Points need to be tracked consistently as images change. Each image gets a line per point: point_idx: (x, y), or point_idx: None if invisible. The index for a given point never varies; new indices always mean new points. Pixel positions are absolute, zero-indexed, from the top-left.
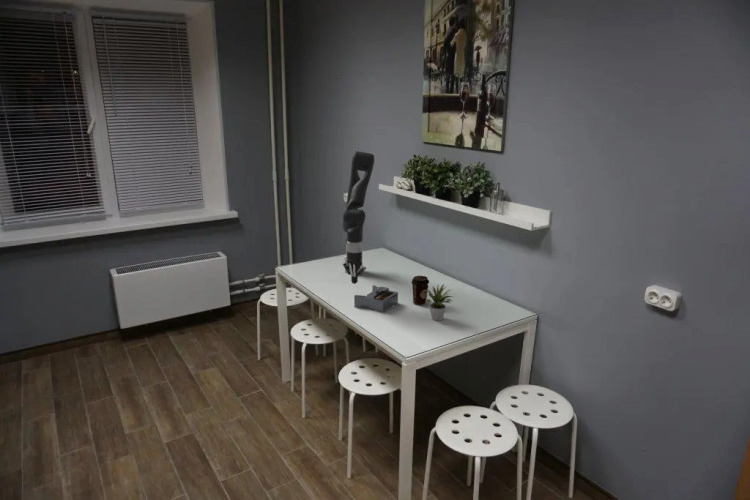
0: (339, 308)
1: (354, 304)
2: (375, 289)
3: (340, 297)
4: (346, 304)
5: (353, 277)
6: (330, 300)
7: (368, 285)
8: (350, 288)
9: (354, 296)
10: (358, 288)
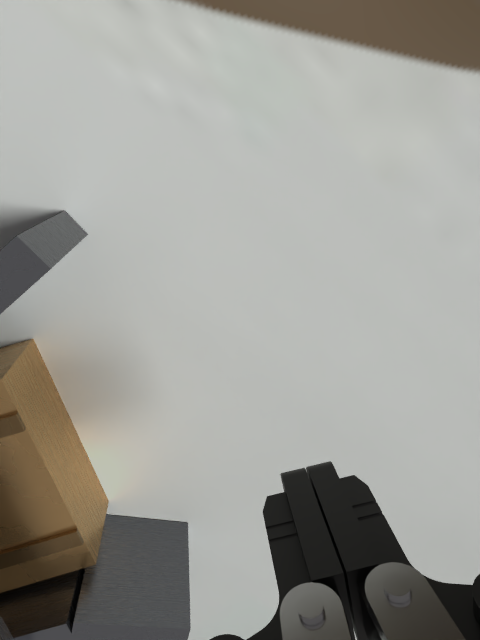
0: (152, 24)
1: (56, 216)
2: (112, 601)
3: (400, 274)
4: (196, 190)
5: (329, 561)
6: (429, 125)
7: None
8: (477, 481)
9: (18, 237)
10: (419, 530)
